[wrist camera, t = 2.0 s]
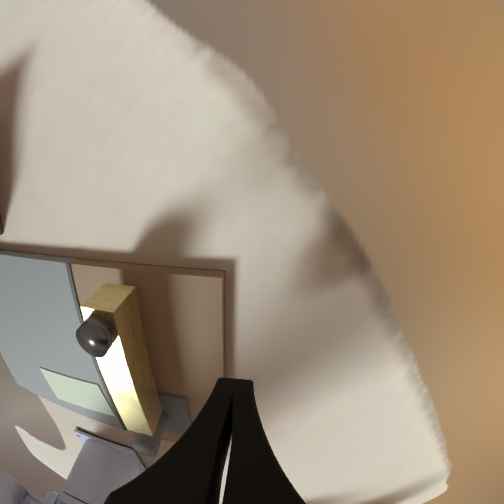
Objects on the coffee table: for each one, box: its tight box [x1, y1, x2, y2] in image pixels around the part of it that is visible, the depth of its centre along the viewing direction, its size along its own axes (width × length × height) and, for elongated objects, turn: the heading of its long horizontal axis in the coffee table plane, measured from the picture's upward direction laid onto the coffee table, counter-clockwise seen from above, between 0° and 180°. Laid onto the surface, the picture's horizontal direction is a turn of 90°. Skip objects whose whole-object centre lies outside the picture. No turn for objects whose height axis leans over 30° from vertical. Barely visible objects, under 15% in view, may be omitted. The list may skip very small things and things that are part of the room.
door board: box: [0, 250, 225, 456], centre depth 15 cm, size 16×24×4 cm, turn 87°
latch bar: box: [76, 283, 163, 436], centre depth 12 cm, size 10×2×3 cm, turn 177°
